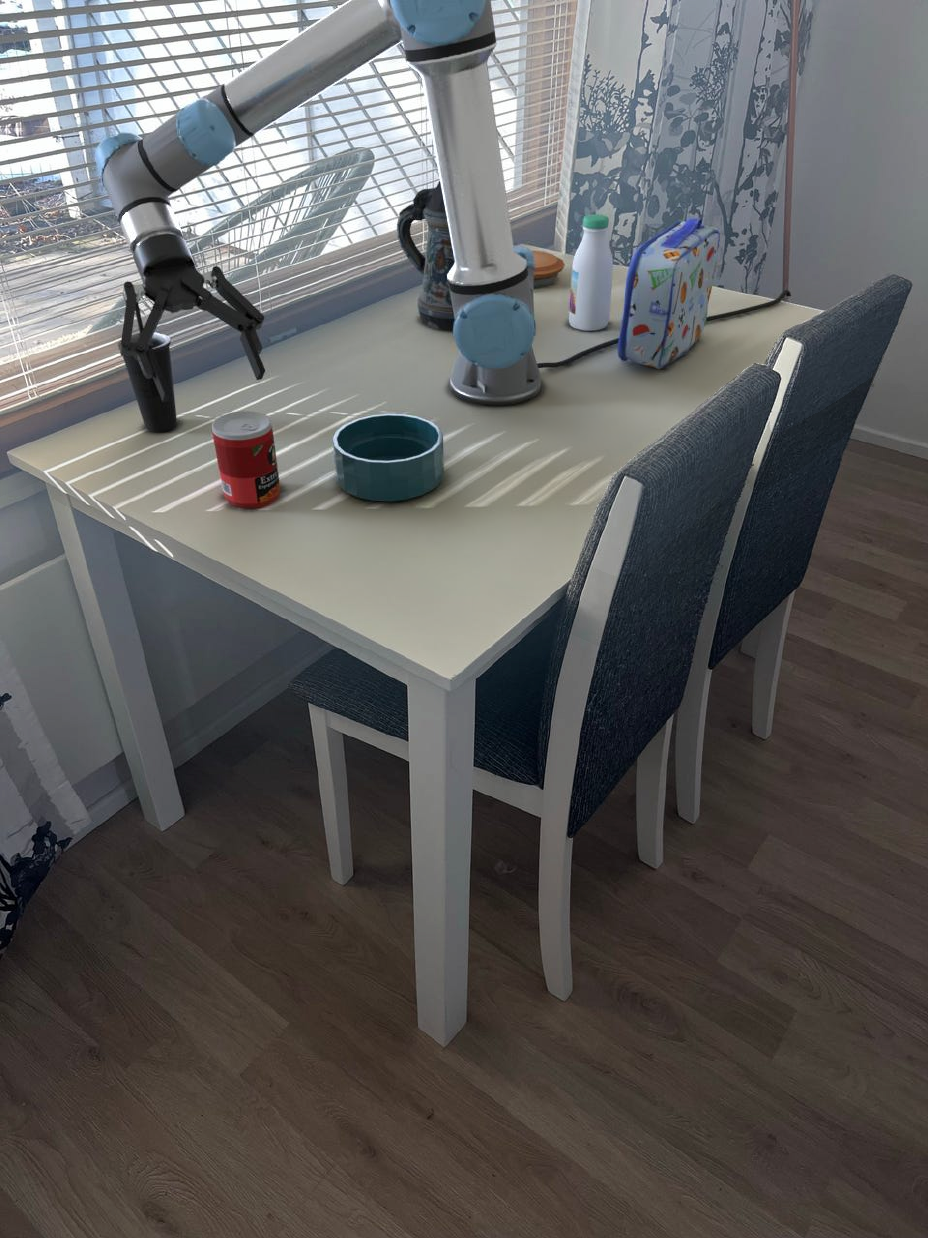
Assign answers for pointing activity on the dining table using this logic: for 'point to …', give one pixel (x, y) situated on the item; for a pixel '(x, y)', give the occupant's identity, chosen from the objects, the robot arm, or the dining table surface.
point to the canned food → (246, 458)
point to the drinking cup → (153, 383)
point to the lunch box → (668, 293)
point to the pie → (546, 268)
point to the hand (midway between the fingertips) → (214, 386)
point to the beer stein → (430, 256)
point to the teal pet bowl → (388, 457)
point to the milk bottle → (591, 277)
